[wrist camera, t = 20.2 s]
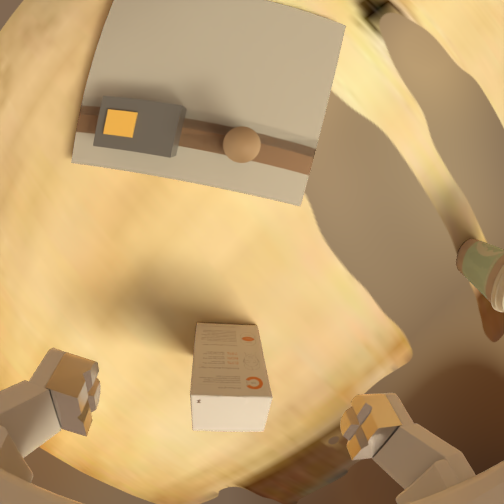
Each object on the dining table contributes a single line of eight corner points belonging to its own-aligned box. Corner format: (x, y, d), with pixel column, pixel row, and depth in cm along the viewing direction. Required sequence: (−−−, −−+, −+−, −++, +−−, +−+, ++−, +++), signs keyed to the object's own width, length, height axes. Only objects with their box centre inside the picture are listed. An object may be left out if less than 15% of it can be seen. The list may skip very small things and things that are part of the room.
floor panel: (77, 161, 30) (71, 162, 29) (123, -11, 23) (120, -16, 22) (297, 203, 34) (300, 206, 33) (341, 29, 27) (345, 25, 26)
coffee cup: (491, 244, 39) (540, 273, 28) (466, 287, 42) (511, 323, 30) (468, 220, 37) (524, 247, 26) (441, 268, 40) (491, 306, 28)
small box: (195, 358, 41) (190, 431, 29) (196, 321, 39) (188, 394, 26) (253, 360, 42) (264, 433, 30) (258, 324, 40) (273, 396, 27)
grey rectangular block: (105, 144, 28) (91, 146, 25) (114, 99, 27) (101, 95, 23) (175, 155, 30) (169, 157, 26) (186, 109, 28) (181, 105, 25)
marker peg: (220, 155, 30) (219, 159, 24) (226, 127, 29) (226, 123, 23) (249, 160, 31) (256, 166, 24) (255, 132, 30) (263, 130, 23)
